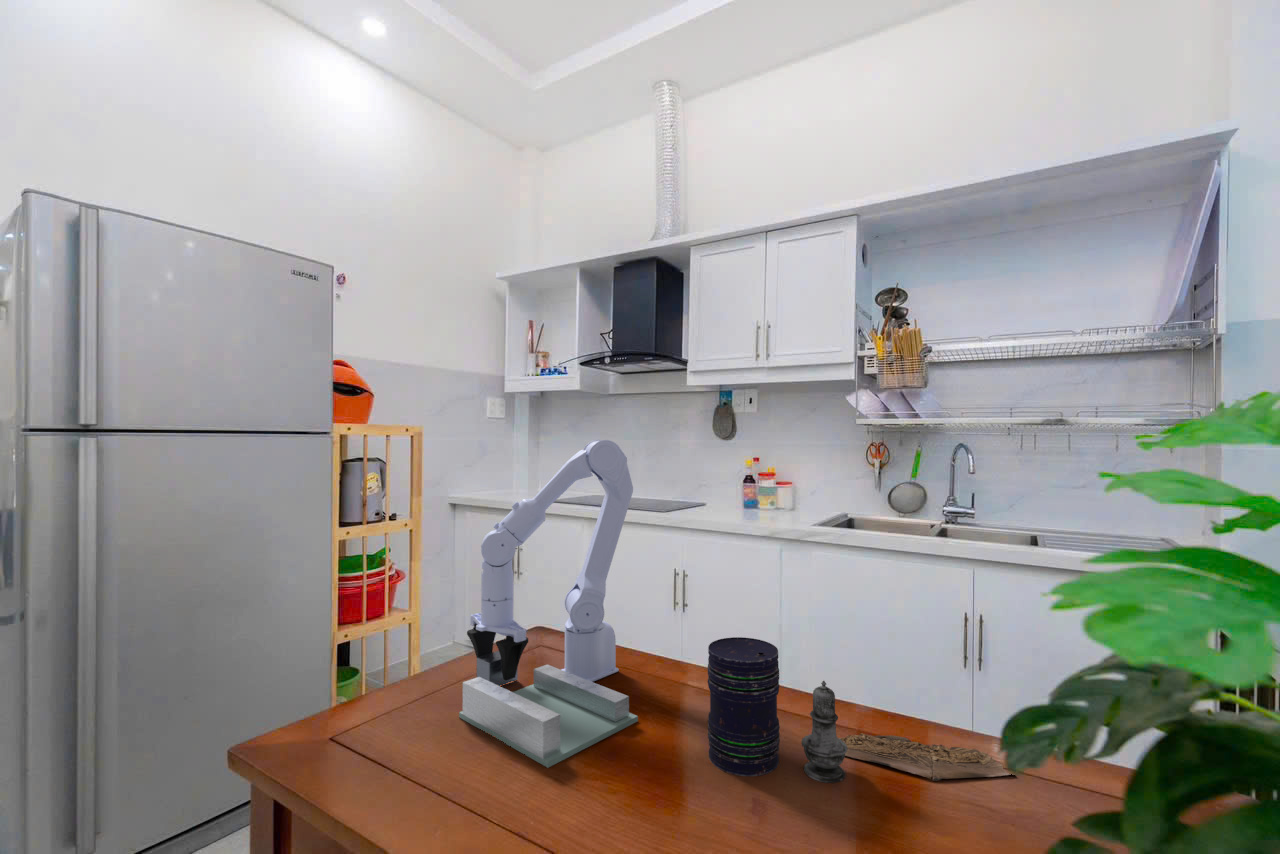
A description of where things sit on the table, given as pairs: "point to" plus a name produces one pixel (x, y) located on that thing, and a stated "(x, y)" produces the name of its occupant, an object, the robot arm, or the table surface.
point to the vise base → (569, 725)
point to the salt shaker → (824, 740)
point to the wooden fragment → (923, 757)
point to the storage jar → (743, 706)
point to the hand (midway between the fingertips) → (496, 672)
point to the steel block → (492, 668)
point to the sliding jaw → (582, 692)
